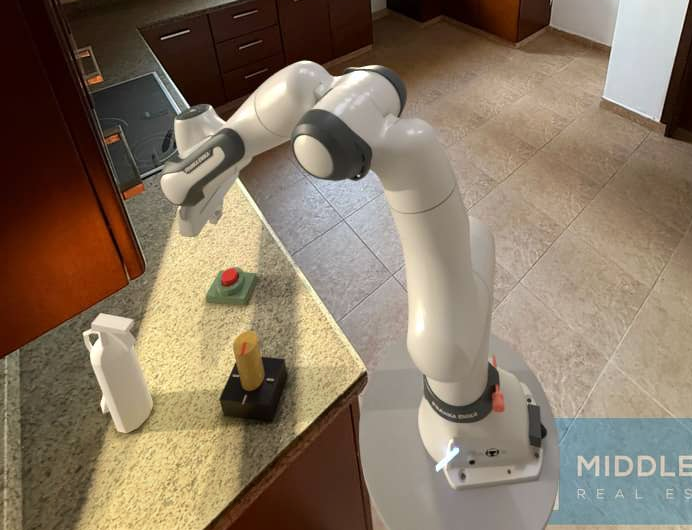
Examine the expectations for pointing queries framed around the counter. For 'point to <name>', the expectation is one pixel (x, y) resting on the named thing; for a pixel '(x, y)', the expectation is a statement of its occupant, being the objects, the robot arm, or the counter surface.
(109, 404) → the white plastic jug
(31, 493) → the counter surface
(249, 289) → the button box
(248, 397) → the black block
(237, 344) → the yellow cylinder
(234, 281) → the button
